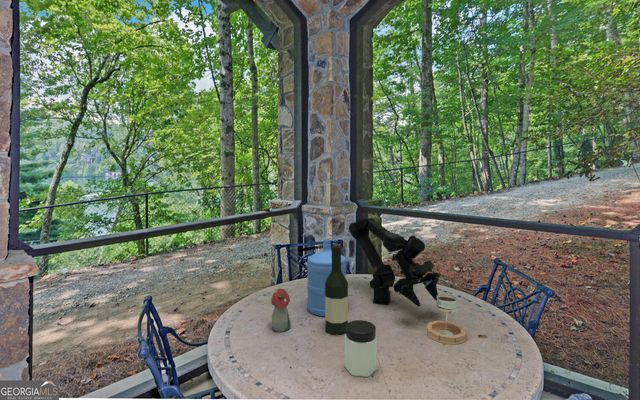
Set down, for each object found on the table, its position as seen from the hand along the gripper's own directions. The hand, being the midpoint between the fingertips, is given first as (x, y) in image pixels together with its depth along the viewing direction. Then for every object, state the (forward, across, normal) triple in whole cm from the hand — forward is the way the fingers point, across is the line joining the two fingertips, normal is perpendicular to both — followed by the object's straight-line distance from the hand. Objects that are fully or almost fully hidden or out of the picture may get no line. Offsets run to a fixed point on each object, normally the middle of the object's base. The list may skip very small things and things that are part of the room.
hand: (428, 303), depth 115 cm
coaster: (+11, 0, 0) cm, 11 cm away
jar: (+12, -36, -1) cm, 38 cm away
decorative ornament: (-11, -46, +23) cm, 53 cm away
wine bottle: (-3, -30, +16) cm, 34 cm away
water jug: (-15, -24, +28) cm, 40 cm away
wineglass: (+11, 0, 0) cm, 11 cm away
